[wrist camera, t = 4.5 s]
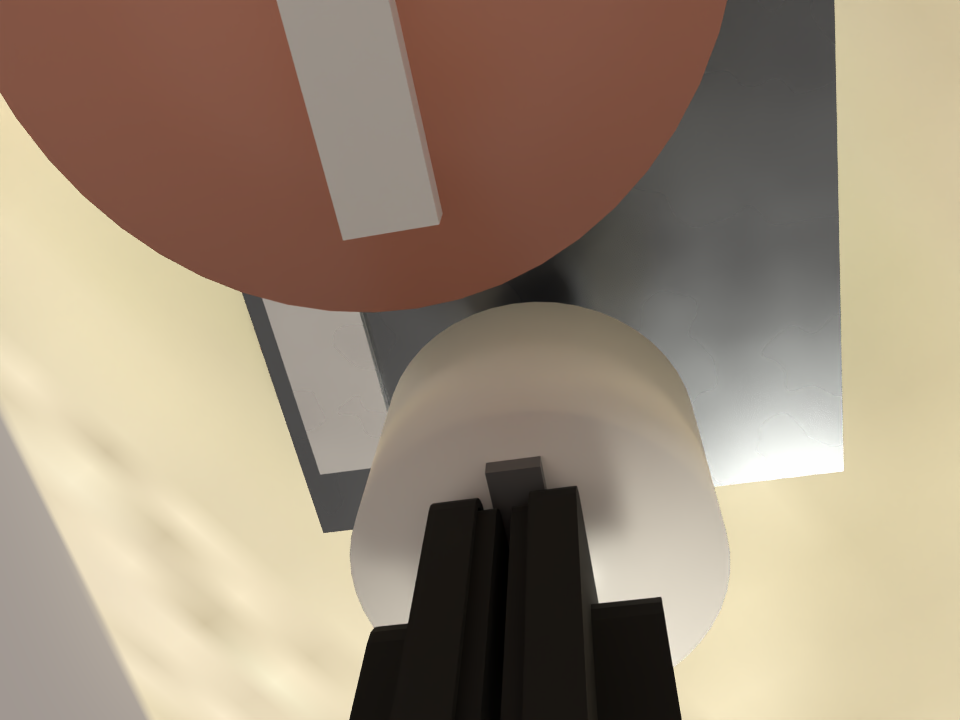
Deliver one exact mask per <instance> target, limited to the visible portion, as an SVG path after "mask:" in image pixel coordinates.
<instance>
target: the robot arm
mask: <svg viewBox="0 0 960 720" xmlns="http://www.w3.org/2000/svg"><path fill="white" fill-rule="evenodd" d="M349 720H682V719H681V713H680V707H679V701H678V695H677V688H676V682H675V676H674V670H673V664H672V658H671V652H670V646H669V640H668V633H667V627H666V621H665V615H664V609H663V603H662V598H661V597H654V598H644V599H635V600H625V601H616V602H606V603H599V602H598V597H597V591H596V585H595V580H594V574H593V568H592V563H591V557H590V552H589V546H588V540H587V535H586V529H585V524H584V518H583V512H582V507H581V501H580V496H579V491H578V487H577V486H569V487H561V488H553V489H545V490H537V491H530V492H529V496H528V505H520V506H513V507H512V511H511V527H510V546H508V542H507V537H506V533H505V528H504V524H503V520H502V516H501V513H500V510H499V509H498V508H495V509H487V510H484V509H483V505H482V503H481V500H480V499H479V498H472V499H464V500H456V501H448V502H440V503H432V504H431V505H430V508H429V512H428V517H427V522H426V528H425V533H424V539H423V544H422V550H421V555H420V560H419V566H418V571H417V577H416V582H415V588H414V593H413V598H412V604H411V609H410V615H409V620H408V623H407V624H397V625H388V626H378V627H375V628H374V629H373V630H372V632H371V634H370V636H369V639H368V642H367V646H366V650H365V655H364V659H363V663H362V668H361V672H360V676H359V681H358V685H357V689H356V693H355V698H354V702H353V706H352V711H351V715H350V719H349Z"/></svg>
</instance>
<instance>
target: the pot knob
mask: <svg viewBox="0 0 960 720" xmlns="http://www.w3.org/2000/svg"><path fill="white" fill-rule="evenodd" d="M726 3H727V0H0V93H1V94H2V96H3V98H4V99H5V101H6V102H7V104H8V106H9V107H10V109H11V110H12V112H13V114H14V115H15V117H16V118H17V120H18V121H19V122H20V123H21V125H22V126H23V127H24V129H25V130H26V131H27V132H28V134H29V135H30V136H31V138H32V139H33V140H34V141H35V143H36V144H37V145H38V147H39V148H40V149H41V150H42V152H43V153H44V154H45V156H46V157H47V158H48V159H49V161H50V162H51V163H52V164H53V165H54V166H55V167H56V168H57V169H58V170H59V171H60V172H61V173H62V174H63V175H64V176H65V177H66V178H67V179H68V180H69V181H70V182H71V183H72V184H73V186H74V187H75V188H76V189H77V190H78V191H79V192H80V193H81V194H82V195H83V196H84V197H85V198H87V199H88V200H89V201H90V202H91V203H92V204H94V205H95V206H96V207H97V208H98V209H100V210H101V211H102V212H103V213H104V214H105V215H107V216H108V217H109V218H110V219H111V220H113V221H114V222H115V223H116V224H117V225H118V226H120V227H121V228H122V229H124V230H125V231H127V232H128V233H130V234H131V235H133V236H134V237H136V238H137V239H138V240H140V241H141V242H143V243H144V244H146V245H147V246H149V247H150V248H152V249H153V250H155V251H156V252H158V253H159V254H161V255H163V256H164V257H166V258H168V259H170V260H172V261H174V262H176V263H178V264H179V265H181V266H183V267H185V268H187V269H189V270H191V271H193V272H195V273H196V274H198V275H200V276H202V277H205V278H207V279H210V280H212V281H215V282H217V283H220V284H222V285H225V286H227V287H230V288H233V289H235V290H238V291H240V292H243V293H246V294H249V295H253V296H257V297H261V298H264V299H268V300H272V301H275V302H279V303H283V304H286V305H293V306H299V307H306V308H313V309H319V310H326V311H342V312H384V311H395V310H406V309H417V308H422V307H426V306H431V305H436V304H440V303H445V302H449V301H454V300H458V299H462V298H465V297H467V296H470V295H473V294H476V293H479V292H482V291H484V290H487V289H490V288H493V287H496V286H499V285H501V284H503V283H505V282H507V281H509V280H511V279H513V278H515V277H517V276H519V275H521V274H523V273H525V272H527V271H529V270H531V269H533V268H535V267H537V266H539V265H541V264H543V263H544V262H546V261H547V260H549V259H550V258H552V257H553V256H555V255H556V254H558V253H559V252H561V251H562V250H564V249H565V248H567V247H568V246H570V245H571V244H572V243H574V242H575V241H577V240H578V239H580V238H581V237H582V236H583V235H584V234H585V233H587V232H588V231H589V230H590V229H591V228H592V227H594V226H595V225H596V224H597V223H598V222H599V221H600V220H602V219H603V218H604V217H605V216H606V215H607V214H608V213H610V212H611V211H612V210H613V209H614V208H615V207H616V206H617V205H618V204H619V203H620V201H621V200H622V199H623V198H624V197H625V196H626V195H627V194H628V193H629V191H630V190H631V189H632V188H633V187H634V186H635V185H636V184H637V182H638V181H639V180H640V179H641V178H642V177H643V176H644V175H645V173H646V172H647V171H648V170H649V168H650V167H651V165H652V164H653V162H654V161H655V159H656V158H657V157H658V155H659V154H660V152H661V151H662V149H663V148H664V146H665V145H666V144H667V142H668V141H669V139H670V138H671V136H672V135H673V133H674V132H675V131H676V129H677V127H678V125H679V123H680V121H681V119H682V117H683V115H684V113H685V111H686V110H687V108H688V106H689V104H690V102H691V100H692V98H693V96H694V94H695V92H696V90H697V88H698V87H699V85H700V82H701V80H702V77H703V74H704V72H705V69H706V66H707V64H708V61H709V59H710V56H711V53H712V51H713V48H714V45H715V43H716V40H717V37H718V35H719V32H720V28H721V24H722V20H723V16H724V11H725V7H726Z"/></svg>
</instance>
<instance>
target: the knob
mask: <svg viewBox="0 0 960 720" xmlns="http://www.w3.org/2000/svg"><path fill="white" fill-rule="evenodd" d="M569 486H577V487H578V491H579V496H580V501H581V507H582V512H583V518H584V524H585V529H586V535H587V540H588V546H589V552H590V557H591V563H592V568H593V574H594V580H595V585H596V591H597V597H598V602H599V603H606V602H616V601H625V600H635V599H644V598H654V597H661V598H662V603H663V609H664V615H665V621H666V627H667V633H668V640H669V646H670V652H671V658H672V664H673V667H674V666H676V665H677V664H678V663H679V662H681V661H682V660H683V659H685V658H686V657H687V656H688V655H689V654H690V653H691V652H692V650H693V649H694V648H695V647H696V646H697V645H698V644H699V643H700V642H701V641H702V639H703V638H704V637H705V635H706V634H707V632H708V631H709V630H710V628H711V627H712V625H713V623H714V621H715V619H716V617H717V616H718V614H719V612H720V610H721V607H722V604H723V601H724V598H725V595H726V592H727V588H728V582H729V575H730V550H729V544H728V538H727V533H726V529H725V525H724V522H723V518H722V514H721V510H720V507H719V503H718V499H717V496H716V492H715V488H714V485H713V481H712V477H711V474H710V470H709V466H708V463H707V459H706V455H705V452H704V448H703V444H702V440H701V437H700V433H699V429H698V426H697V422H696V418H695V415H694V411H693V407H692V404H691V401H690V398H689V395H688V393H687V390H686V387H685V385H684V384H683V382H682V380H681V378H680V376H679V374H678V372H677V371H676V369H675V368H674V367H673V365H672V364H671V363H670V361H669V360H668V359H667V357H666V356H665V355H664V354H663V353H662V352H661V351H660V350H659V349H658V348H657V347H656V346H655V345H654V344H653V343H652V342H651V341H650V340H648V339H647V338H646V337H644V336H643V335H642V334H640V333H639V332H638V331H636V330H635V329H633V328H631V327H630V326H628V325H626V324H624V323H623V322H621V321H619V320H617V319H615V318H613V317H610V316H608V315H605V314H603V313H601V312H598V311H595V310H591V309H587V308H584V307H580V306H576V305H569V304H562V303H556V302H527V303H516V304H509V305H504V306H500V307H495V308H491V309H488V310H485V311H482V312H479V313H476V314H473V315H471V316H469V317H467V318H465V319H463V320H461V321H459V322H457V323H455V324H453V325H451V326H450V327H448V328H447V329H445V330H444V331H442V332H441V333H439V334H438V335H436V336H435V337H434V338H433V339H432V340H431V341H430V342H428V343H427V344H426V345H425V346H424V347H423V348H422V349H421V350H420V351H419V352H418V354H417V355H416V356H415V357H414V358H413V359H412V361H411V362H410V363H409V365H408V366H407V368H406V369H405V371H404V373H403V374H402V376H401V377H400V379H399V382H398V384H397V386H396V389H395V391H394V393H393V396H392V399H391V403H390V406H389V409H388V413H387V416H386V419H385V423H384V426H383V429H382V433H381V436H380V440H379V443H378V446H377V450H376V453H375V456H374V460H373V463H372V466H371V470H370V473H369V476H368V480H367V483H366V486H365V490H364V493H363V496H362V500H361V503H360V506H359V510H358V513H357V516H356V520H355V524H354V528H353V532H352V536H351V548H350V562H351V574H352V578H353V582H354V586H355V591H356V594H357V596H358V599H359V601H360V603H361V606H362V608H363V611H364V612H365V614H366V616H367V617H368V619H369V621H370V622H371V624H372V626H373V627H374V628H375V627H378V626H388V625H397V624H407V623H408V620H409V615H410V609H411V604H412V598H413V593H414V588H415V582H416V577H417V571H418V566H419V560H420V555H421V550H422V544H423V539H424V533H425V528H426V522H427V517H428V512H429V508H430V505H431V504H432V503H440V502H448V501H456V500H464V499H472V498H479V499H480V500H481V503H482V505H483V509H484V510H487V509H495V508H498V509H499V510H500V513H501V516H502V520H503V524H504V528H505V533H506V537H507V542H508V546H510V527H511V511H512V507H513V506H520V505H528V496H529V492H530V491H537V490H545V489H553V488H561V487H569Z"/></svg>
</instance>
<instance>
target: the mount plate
mask: <svg viewBox="0 0 960 720" xmlns="http://www.w3.org/2000/svg"><path fill="white" fill-rule="evenodd" d="M242 294H243V297H244V300H245V303H246V306H247V309H248V311H249V314H250V317H251V320H252V323H253V326H254V329H255V332H256V335H257V338H258V341H259V344H260V347H261V350H262V353H263V356H264V359H265V362H266V365H267V368H268V370H269V373H270V376H271V379H272V382H273V385H274V388H275V391H276V394H277V397H278V400H279V403H280V406H281V409H282V412H283V415H284V418H285V421H286V424H287V427H288V429H289V432H290V435H291V438H292V441H293V444H294V447H295V450H296V453H297V456H298V459H299V462H300V465H301V468H302V471H303V474H304V477H305V480H306V483H307V486H308V488H309V491H310V494H311V497H312V500H313V503H314V506H315V509H316V512H317V515H318V518H319V521H320V524H321V527H322V530H323V533H327V532H336V531H344V530H352V529H353V528H354V524H355V520H356V516H357V513H358V510H359V506H360V503H361V500H362V496H363V493H364V490H365V486H366V483H367V480H368V476H369V473H370V470H371V466H372V463H373V460H374V456H375V453H376V450H377V446H378V443H379V440H380V436H381V433H382V429H383V426H384V423H385V419H386V416H387V413H388V409H389V406H390V403H391V399H392V396H393V393H394V391H395V389H396V386H397V384H398V382H399V379H400V377H401V376H402V374H403V373H404V371H405V369H406V368H407V366H408V365H409V363H410V362H411V361H412V359H413V358H414V357H415V356H416V355H417V354H418V352H419V351H420V350H421V349H422V348H423V347H424V346H425V345H426V344H427V343H428V342H430V341H431V340H432V339H433V338H434V337H435V336H436V335H438V334H439V333H441V332H442V331H444V330H445V329H447V328H448V327H450V326H451V325H453V324H455V323H457V322H459V321H461V320H463V319H465V318H467V317H469V316H471V315H473V314H476V313H479V312H482V311H485V310H488V309H491V308H495V307H500V306H504V305H509V304H516V303H527V302H556V303H562V304H569V305H576V306H580V307H584V308H587V309H591V310H595V311H598V312H601V313H603V314H605V315H608V316H610V317H613V318H615V319H617V320H619V321H621V322H623V323H624V324H626V325H628V326H630V327H631V328H633V329H635V330H636V331H638V332H639V333H640V334H642V335H643V336H644V337H646V338H647V339H648V340H650V341H651V342H652V343H653V344H654V345H655V346H656V347H657V348H658V349H659V350H660V351H661V352H662V353H663V354H664V355H665V356H666V357H667V359H668V360H669V361H670V363H671V364H672V365H673V367H674V368H675V369H676V371H677V372H678V374H679V376H680V378H681V380H682V382H683V384H684V385H685V387H686V390H687V393H688V395H689V398H690V401H691V404H692V407H693V411H694V415H695V418H696V422H697V426H698V429H699V433H700V437H701V440H702V444H703V448H704V452H705V455H706V459H707V463H708V466H709V470H710V474H711V477H712V481H713V485H714V487H715V486H723V485H731V484H740V483H748V482H757V481H765V480H774V479H782V478H790V477H799V476H807V475H816V474H824V473H833V472H841V471H844V461H843V411H842V361H841V311H840V261H839V211H838V162H837V112H836V62H835V12H834V0H727V3H726V7H725V11H724V16H723V20H722V24H721V28H720V32H719V35H718V37H717V40H716V43H715V45H714V48H713V51H712V53H711V56H710V59H709V61H708V64H707V66H706V69H705V72H704V74H703V77H702V80H701V82H700V85H699V87H698V88H697V90H696V92H695V94H694V96H693V98H692V100H691V102H690V104H689V106H688V108H687V110H686V111H685V113H684V115H683V117H682V119H681V121H680V123H679V125H678V127H677V129H676V131H675V132H674V133H673V135H672V136H671V138H670V139H669V141H668V142H667V144H666V145H665V146H664V148H663V149H662V151H661V152H660V154H659V155H658V157H657V158H656V159H655V161H654V162H653V164H652V165H651V167H650V168H649V170H648V171H647V172H646V173H645V175H644V176H643V177H642V178H641V179H640V180H639V181H638V182H637V184H636V185H635V186H634V187H633V188H632V189H631V190H630V191H629V193H628V194H627V195H626V196H625V197H624V198H623V199H622V200H621V201H620V203H619V204H618V205H617V206H616V207H615V208H614V209H613V210H612V211H611V212H610V213H608V214H607V215H606V216H605V217H604V218H603V219H602V220H600V221H599V222H598V223H597V224H596V225H595V226H594V227H592V228H591V229H590V230H589V231H588V232H587V233H585V234H584V235H583V236H582V237H581V238H580V239H578V240H577V241H575V242H574V243H572V244H571V245H570V246H568V247H567V248H565V249H564V250H562V251H561V252H559V253H558V254H556V255H555V256H553V257H552V258H550V259H549V260H547V261H546V262H544V263H543V264H541V265H539V266H537V267H535V268H533V269H531V270H529V271H527V272H525V273H523V274H521V275H519V276H517V277H515V278H513V279H511V280H509V281H507V282H505V283H503V284H501V285H499V286H496V287H493V288H490V289H487V290H484V291H482V292H479V293H476V294H473V295H470V296H467V297H465V298H462V299H458V300H454V301H449V302H445V303H440V304H436V305H431V306H426V307H422V308H417V309H406V310H395V311H384V312H342V311H326V310H319V309H313V308H306V307H299V306H293V305H286V304H283V303H279V302H275V301H272V300H268V299H264V298H261V297H257V296H253V295H249V294H246V293H243V292H242Z"/></svg>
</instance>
